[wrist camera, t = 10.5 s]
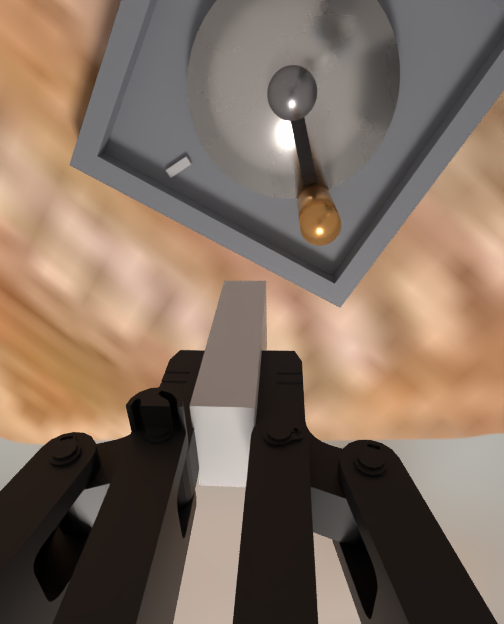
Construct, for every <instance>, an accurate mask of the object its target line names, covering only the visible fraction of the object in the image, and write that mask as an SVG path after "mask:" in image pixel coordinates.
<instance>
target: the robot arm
mask: <svg viewBox="0 0 504 624" xmlns="http://www.w3.org/2000/svg"><path fill="white" fill-rule="evenodd" d="M266 348H267V324H266V281H224V284H223V288H222V291H221V295H220V298H219V302H218V306H217V309H216V313H215V316H214V320H213V323H212V327H211V331H210V334H209V338H208V341H207V345H206V349H205V351H197V350H180V351H179V352H178V353H177V354H176V355H175V356H173V357H172V358H171V359H170V361H169V363H168V366H167V368H166V371H165V374H164V376H163V379H162V383H161V384H160V386H159V387H158V388H150V389H147V390H144V391H141V392H139V393H138V394H136V395H135V396H133V397H132V398H131V399H130V400H129V402H128V403H127V404H126V409H127V413H128V418H129V422H130V426H131V431H132V432H131V434H130V435H128V436H126V437H123V438H120V439H117V440H113V441H108V442H104V443H99V444H96V443H95V441H94V440H93V438H92V437H91V436H89V435H87V434H85V433H79V432H72V433H67V434H63V435H60V436H58V437H56V438H54V439H52V440H50V441H49V442H48V443H47V444H45V445H44V446H43V447H42V448H41V449H40V450H39V451H38V452H37V453H36V454H35V455H34V456H33V457H32V458H31V459H30V460H29V461H28V463H27V464H26V465H25V466H24V467H23V468H22V469H21V470H20V471H19V472H18V473H17V474H16V475H15V476H14V477H13V478H12V479H11V481H10V482H9V483H8V484H7V485H6V486H5V487H4V488H3V489H2V490H1V491H0V624H173V621H174V615H175V610H176V605H177V600H178V595H179V590H180V585H181V580H182V575H183V570H184V565H185V560H186V555H187V550H188V545H189V540H190V535H191V529H192V524H193V519H194V514H195V509H196V492H195V487H196V482H197V477H198V475H199V482H200V485H205V486H230V487H246V491H245V502H244V512H243V523H242V533H241V544H240V554H239V565H238V575H237V585H236V595H235V606H234V616H233V624H318V612H317V594H316V576H315V558H314V542H313V541H314V540H313V532H315V533H317V534H320V535H322V536H325V537H328V538H330V539H333V544H334V546H335V549H336V552H337V555H338V558H339V561H340V564H341V566H342V569H343V572H344V575H345V578H346V581H347V583H348V586H349V589H350V592H351V595H352V598H353V601H354V603H355V607H356V609H357V612H358V615H359V618H360V621H361V624H498V623H497V622H496V620H495V619H494V617H493V615H492V613H491V612H490V610H489V608H488V607H487V605H486V603H485V602H484V600H483V598H482V596H481V595H480V593H479V591H478V590H477V588H476V587H475V585H474V583H473V581H472V580H471V578H470V576H469V575H468V573H467V571H466V570H465V568H464V566H463V565H462V563H461V561H460V559H459V558H458V556H457V554H456V553H455V551H454V549H453V548H452V546H451V544H450V543H449V541H448V539H447V538H446V536H445V534H444V533H443V531H442V529H441V527H440V526H439V524H438V522H437V521H436V519H435V517H434V516H433V514H432V512H431V511H430V509H429V507H428V505H427V504H426V502H425V500H424V499H423V497H422V495H421V494H420V492H419V490H418V489H417V487H416V485H415V484H414V482H413V480H412V478H411V477H410V475H409V473H408V472H407V470H406V468H405V467H404V465H403V463H402V462H401V460H400V458H399V457H398V456H397V455H396V454H395V453H394V451H393V450H392V449H390V448H389V447H387V446H385V445H384V444H382V443H379V442H376V441H372V440H357V441H354V442H351V443H349V444H348V445H347V446H346V447H344V448H343V449H341V448H338V447H334V446H331V445H328V444H326V443H323V442H321V441H320V440H318V439H317V438H315V437H314V436H313V435H312V434H311V433H310V431H309V430H308V428H307V426H306V422H305V409H304V391H303V372H302V361H301V359H300V358H299V357H298V355H297V354H296V352H295V351H266Z"/></svg>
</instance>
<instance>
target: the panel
mask: <svg viewBox="0 0 504 624" xmlns="http://www.w3.org/2000/svg"><path fill="white" fill-rule="evenodd" d="M377 1H378V2H379V4H380V6H381V7H382V9H383V10H384V12H385V14H386V16H387V18H388V20H389V22H390V24H391V27H392V29H393V32H394V36H395V39H396V43H397V47H398V53H399V60H400V86H399V95H398V100H397V105H396V109H395V112H394V115H393V118H392V121H391V124H390V126H389V128H388V130H387V133H386V135H385V137H384V138H383V140H382V142H381V143H380V145H379V147H378V148H377V150H376V151H375V152H374V154H373V155H372V156H371V158H370V159H369V160H368V161H367V162H366V163H365V164H364V165H363V166H362V167H361V168H360V170H358V171H357V172H356V173H355V174H354V175H352V176H351V177H350V178H349V179H347V180H346V181H344V182H342V183H341V184H339V185H338V186H336V187H334V188H331V189H329V190H328V191H329V192H330V194H331V197H332V199H333V202H334V204H335V206H336V209H337V211H338V214H339V216H340V219H341V230H340V233H339V235H338V237H337V238H336V239H335V240H334V241H332V242H331V243H329V244H327V245H322V246H317V245H313V244H310V243H309V242H307V241H306V240H305V239H304V238H303V236H302V234H301V231H300V223H299V215H298V208H297V199H298V198H276V197H271V196H266V195H262V194H259V193H256V192H254V191H251V190H249V189H247V188H245V187H243V186H241V185H240V184H238V183H237V182H235V181H234V180H232V179H231V178H230V177H229V176H227V175H226V174H225V173H224V172H223V171H222V170H221V169H220V168H219V167H218V166H217V165H216V164H215V163H214V161H213V160H212V159H211V157H210V156H209V155H208V153H207V152H206V150H205V149H204V147H203V145H202V143H201V141H200V139H199V137H198V135H197V132H196V130H195V127H194V124H193V121H192V117H191V113H190V109H189V102H188V94H187V75H188V65H189V59H190V55H191V50H192V46H193V43H194V41H195V38H196V35H197V32H198V30H199V28H200V26H201V24H202V22H203V20H204V18H205V16H206V15H207V13H208V12H209V10H210V9H211V7H212V6H213V4H214V3H215V2H216V0H121V2H120V6H119V9H118V12H117V15H116V18H115V22H114V25H113V28H112V31H111V34H110V37H109V41H108V44H107V47H106V50H105V53H104V57H103V60H102V63H101V66H100V69H99V73H98V76H97V79H96V82H95V85H94V88H93V92H92V95H91V98H90V101H89V104H88V108H87V111H86V114H85V117H84V120H83V124H82V127H81V130H80V133H79V136H78V139H77V143H76V146H75V149H74V152H73V155H72V159H71V162H70V166H72V167H74V168H76V169H78V170H80V171H82V172H83V173H85V174H87V175H89V176H91V177H93V178H95V179H97V180H99V181H101V182H102V183H104V184H106V185H108V186H110V187H112V188H114V189H116V190H118V191H119V192H121V193H123V194H125V195H127V196H129V197H131V198H133V199H135V200H137V201H138V202H140V203H142V204H144V205H146V206H148V207H150V208H152V209H154V210H156V211H157V212H159V213H161V214H163V215H165V216H167V217H169V218H171V219H173V220H175V221H176V222H178V223H180V224H182V225H184V226H186V227H188V228H190V229H192V230H194V231H195V232H197V233H199V234H201V235H203V236H205V237H207V238H209V239H211V240H213V241H214V242H216V243H218V244H220V245H222V246H224V247H226V248H228V249H230V250H232V251H233V252H235V253H237V254H239V255H241V256H243V257H245V258H247V259H249V260H251V261H252V262H254V263H256V264H258V265H260V266H262V267H264V268H266V269H268V270H270V271H271V272H273V273H275V274H277V275H279V276H281V277H283V278H285V279H287V280H288V281H290V282H292V283H294V284H296V285H298V286H300V287H302V288H304V289H306V290H307V291H309V292H311V293H313V294H315V295H317V296H319V297H321V298H323V299H325V300H326V301H328V302H330V303H332V304H334V305H336V306H338V307H341V306H342V305H343V303H344V302H345V301H346V299H347V298H348V297H349V295H350V294H351V293H352V291H353V290H354V289H355V287H356V286H357V285H358V283H359V282H360V281H361V279H362V278H363V277H364V275H365V274H366V273H367V271H368V270H369V269H370V267H371V266H372V265H373V263H374V262H375V261H376V259H377V258H378V257H379V255H380V254H381V253H382V251H383V250H384V249H385V247H386V246H387V245H388V243H389V242H390V241H391V239H392V238H393V237H394V235H395V234H396V233H397V231H398V230H399V229H400V227H401V226H402V225H403V223H404V222H405V221H406V219H407V218H408V217H409V215H410V214H411V213H412V211H413V210H414V209H415V207H416V206H417V205H418V203H419V202H420V201H421V199H422V198H423V197H424V195H425V194H426V193H427V191H428V190H429V189H430V187H431V186H432V185H433V183H434V182H435V181H436V179H437V178H438V177H439V175H440V174H441V173H442V171H443V170H444V169H445V167H446V166H447V165H448V163H449V162H450V161H451V159H452V158H453V157H454V155H455V154H456V153H457V151H458V150H459V149H460V147H461V146H462V145H463V143H464V142H465V141H466V139H467V138H468V137H469V135H470V134H471V133H472V131H473V130H474V129H475V127H476V126H477V125H478V123H479V122H480V121H481V120H482V118H483V117H484V116H485V114H486V113H487V112H488V110H489V109H490V108H491V106H492V105H493V104H494V102H495V101H496V100H497V98H498V97H499V96H500V94H501V93H502V92H503V90H504V0H377Z"/></svg>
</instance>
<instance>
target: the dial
mask: <svg viewBox="0 0 504 624" xmlns="http://www.w3.org/2000/svg"><path fill="white" fill-rule="evenodd" d="M399 86H400V60H399V53H398V47H397V43H396V39H395V36H394V32H393V29H392V27H391V24H390V22H389V20H388V18H387V16H386V14H385V12H384V10H383V9H382V7H381V6H380V4H379V2H378V1H377V0H216V2H215V3H214V4H213V6H212V7H211V9H210V10H209V12H208V13H207V15H206V16H205V18H204V20H203V22H202V24H201V26H200V28H199V30H198V32H197V35H196V38H195V41H194V43H193V46H192V50H191V55H190V59H189V65H188V75H187V94H188V102H189V109H190V113H191V117H192V121H193V124H194V127H195V130H196V132H197V135H198V137H199V139H200V141H201V143H202V145H203V147H204V149H205V150H206V152H207V153H208V155H209V156H210V157H211V159H212V160H213V161H214V163H215V164H216V165H217V166H218V167H219V168H220V169H221V170H222V171H223V172H224V173H225V174H226V175H227V176H229V177H230V178H231V179H232V180H234V181H235V182H237V183H238V184H240V185H241V186H243V187H245V188H247V189H249V190H251V191H254V192H256V193H259V194H262V195H266V196H271V197H276V198H298V199H297V208H298V215H299V223H300V231H301V234H302V236H303V238H304V239H305V240H306V241H307V242H309V243H310V244H313V245H317V246H322V245H327V244H329V243H331V242H332V241H334V240H335V239H336V238H337V237H338V235H339V233H340V230H341V219H340V216H339V214H338V211H337V209H336V206H335V204H334V202H333V199H332V197H331V194H330V192H329V191H328V190H329V189H331V188H334V187H336V186H338V185H339V184H341V183H342V182H344V181H346V180H347V179H349V178H350V177H351V176H352V175H354V174H355V173H356V172H357V171H358V170H360V168H361V167H362V166H363V165H364V164H365V163H366V162H367V161H368V160H369V159H370V158H371V156H372V155H373V154H374V152H375V151H376V150H377V148H378V147H379V145H380V143H381V142H382V140H383V138H384V137H385V135H386V133H387V130H388V128H389V126H390V124H391V121H392V118H393V115H394V112H395V109H396V105H397V100H398V95H399Z"/></svg>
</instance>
